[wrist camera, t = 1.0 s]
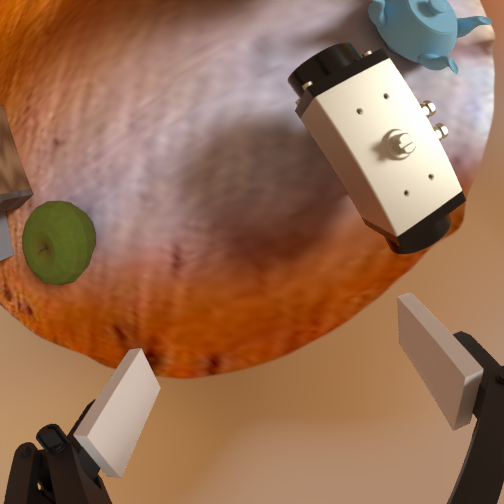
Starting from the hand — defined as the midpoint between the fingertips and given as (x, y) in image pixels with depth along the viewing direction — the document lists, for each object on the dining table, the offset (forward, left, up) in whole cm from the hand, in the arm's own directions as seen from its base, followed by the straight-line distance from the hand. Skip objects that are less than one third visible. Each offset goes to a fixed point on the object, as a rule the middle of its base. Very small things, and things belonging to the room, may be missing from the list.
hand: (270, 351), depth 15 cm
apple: (-4, -26, -25) cm, 36 cm away
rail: (-19, -39, -25) cm, 50 cm away
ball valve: (-10, +11, -25) cm, 29 cm away
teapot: (-27, +22, -25) cm, 43 cm away
